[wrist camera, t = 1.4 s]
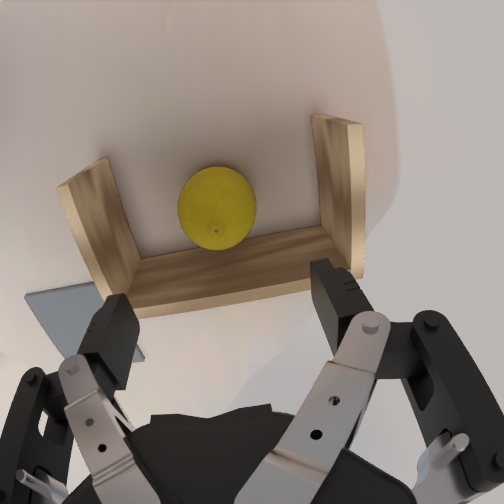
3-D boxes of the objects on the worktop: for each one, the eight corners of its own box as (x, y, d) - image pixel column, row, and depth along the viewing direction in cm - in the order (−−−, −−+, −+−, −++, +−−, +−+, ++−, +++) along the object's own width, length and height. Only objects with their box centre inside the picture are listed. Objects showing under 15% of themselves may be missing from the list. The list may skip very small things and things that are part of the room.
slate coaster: (25, 294, 28) (23, 297, 27) (103, 280, 28) (101, 283, 27) (71, 362, 34) (69, 365, 33) (144, 358, 34) (144, 361, 33)
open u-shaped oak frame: (97, 160, 22) (55, 188, 15) (322, 114, 22) (362, 123, 15) (135, 269, 27) (115, 321, 21) (331, 232, 27) (363, 277, 21)
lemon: (172, 200, 24) (154, 245, 18) (206, 144, 22) (199, 167, 16) (228, 230, 26) (231, 283, 19) (263, 179, 24) (281, 216, 17)
